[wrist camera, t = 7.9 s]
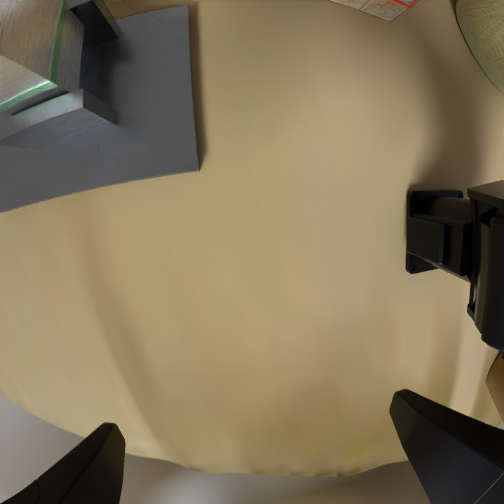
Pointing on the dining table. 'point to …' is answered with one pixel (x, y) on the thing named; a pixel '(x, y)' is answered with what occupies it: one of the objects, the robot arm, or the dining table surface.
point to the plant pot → (497, 384)
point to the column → (37, 53)
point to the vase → (484, 35)
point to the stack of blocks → (380, 7)
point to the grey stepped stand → (107, 112)
